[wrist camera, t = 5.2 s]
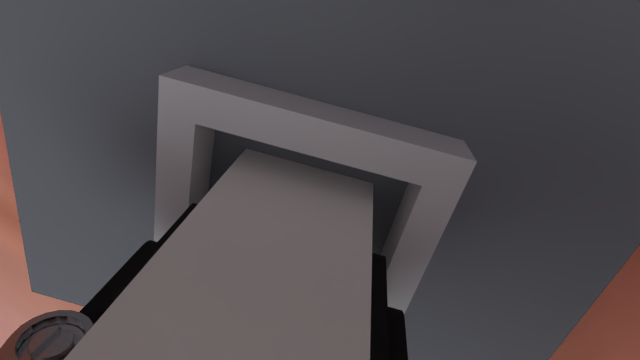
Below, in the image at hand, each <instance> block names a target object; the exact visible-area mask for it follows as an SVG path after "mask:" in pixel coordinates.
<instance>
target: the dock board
mask: <svg viewBox="0 0 640 360" xmlns="http://www.w3.org/2000/svg"><path fill="white" fill-rule="evenodd" d="M0 110H1V116H2V122H3V128H4V133H5V139H6V145H7V151H8V157H9V162H10V168H11V174H12V180H13V186H14V192H15V197H16V203H17V209H18V215H19V221H20V226H21V232H22V238H23V244H24V250H25V255H26V261H27V267H28V273H29V279H30V285H31V290H32V292H35V293H39V294H42V295H46V296H49V297H53V298H56V299H60V300H63V301H67V302H70V303H74V304H78V305H81V306H85V305H86V304H87V303H88V302H89V301H90V300H91V299H92V298H93V297H94V296H95V295H96V294H97V293H98V292H99V291H100V290H101V289H102V287H103V286H104V285H105V284H106V283H107V282H108V281H109V280H110V279H111V278H112V277H113V276H114V275H115V274H116V273H117V272H118V270H119V269H120V268H121V267H122V266H123V265H124V264H125V263H126V262H127V261H128V260H129V259H130V258H131V257H132V256H133V255H134V254H135V252H136V251H137V250H138V249H139V248H140V247H141V246H142V245H143V244H144V243H145V242H147V241H149V240H152V241H156V242H158V241H159V240H160V239H161V237H162V236H163V235H164V234H165V233H166V232H167V231H168V230H169V229H170V227H171V226H172V225H173V224H174V223H175V222H176V221H177V220H178V218H179V217H180V216H181V215H182V214H183V213H184V212H185V211H186V209H187V208H188V207H189V206H190V205H191V204H192V203H195V204H198V203H199V202H200V201H201V200H202V199H203V198H204V197H205V195H206V194H207V193H208V192H209V191H210V190H211V188H212V187H213V186H214V185H215V184H216V183H217V181H218V180H219V179H220V178H221V177H222V176H223V175H224V173H225V172H226V171H227V170H228V169H229V168H230V166H231V165H232V164H233V163H234V162H235V161H236V159H237V158H238V157H239V156H240V155H241V154H242V153H243V151H244V150H245V149H250V150H254V151H257V152H261V153H265V154H268V155H272V156H276V157H279V158H283V159H287V160H290V161H294V162H297V163H301V164H305V165H308V166H312V167H316V168H319V169H323V170H327V171H330V172H334V173H338V174H341V175H345V176H348V177H352V178H356V179H359V180H363V181H367V182H370V183H373V230H372V253H376V254H379V255H383V256H385V257H386V271H387V300H388V307H392V308H395V309H399V310H402V311H403V313H404V317H405V328H406V340H407V352H408V360H549V358H550V357H551V356H552V355H553V353H554V352H555V351H556V349H557V348H558V347H559V346H560V344H561V343H562V342H563V341H564V339H565V338H566V337H567V336H568V334H569V333H570V332H571V331H572V329H573V328H574V327H575V326H576V324H577V323H578V322H579V321H580V319H581V318H582V317H583V315H584V314H585V313H586V312H587V310H588V309H589V308H590V307H591V305H592V304H593V303H594V302H595V300H596V299H597V298H598V297H599V295H600V294H601V293H602V292H603V290H604V289H605V288H606V286H607V285H608V284H609V283H610V281H611V280H612V279H613V278H614V276H615V275H616V274H617V273H618V271H619V270H620V269H621V268H622V266H623V265H624V264H625V263H626V261H627V260H628V259H629V258H630V256H631V255H632V254H633V252H634V251H635V250H636V249H637V247H638V246H639V245H640V0H0Z"/></svg>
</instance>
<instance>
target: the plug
mask: <svg viewBox="0 0 640 360" xmlns="http://www.w3.org/2000/svg"><path fill="white" fill-rule="evenodd" d="M372 230H373V183H370V182H367V181H363V180H359V179H356V178H352V177H348V176H345V175H341V174H338V173H334V172H330V171H327V170H323V169H319V168H316V167H312V166H308V165H305V164H301V163H297V162H294V161H290V160H287V159H283V158H279V157H276V156H272V155H268V154H265V153H261V152H257V151H254V150H250V149H245V150H244V151H243V153H242V154H241V155H240V156H239V157H238V158H237V159H236V161H235V162H234V163H233V164H232V165H231V166H230V168H229V169H228V170H227V171H226V172H225V173H224V175H223V176H222V177H221V178H220V179H219V180H218V181H217V183H216V184H215V185H214V186H213V187H212V188H211V190H210V191H209V192H208V193H207V194H206V195H205V197H204V198H203V199H202V200H201V201H200V202H199V203H198V205H197V206H196V207H195V208H194V209H193V210H192V212H191V213H190V214H189V215H188V216H187V217H186V219H185V220H184V221H183V222H182V223H181V224H180V226H179V227H178V228H177V229H176V230H175V231H174V232H173V234H172V235H171V236H170V237H169V238H168V239H167V241H166V242H165V243H164V244H163V245H162V246H161V248H160V249H159V250H158V251H157V252H156V253H155V254H154V256H153V257H152V258H151V259H150V260H149V261H148V263H147V264H146V265H145V266H144V267H143V268H142V270H141V271H140V272H139V273H138V274H137V275H136V277H135V278H134V279H133V280H132V281H131V282H130V283H129V285H128V286H127V287H126V288H125V289H124V290H123V292H122V293H121V294H120V295H119V296H118V297H117V299H116V300H115V301H114V302H113V303H112V304H111V305H110V307H109V308H108V309H107V310H106V311H105V312H104V314H103V315H102V316H101V317H100V318H99V319H98V321H97V322H96V323H95V324H94V325H93V326H92V328H91V329H90V330H89V331H88V332H87V333H86V334H85V336H84V337H83V338H82V339H81V340H80V341H79V343H78V344H77V345H76V346H75V347H74V348H73V350H72V351H71V352H70V353H69V354H68V355H67V356H66V358H65V359H64V360H370V333H371V282H372Z"/></svg>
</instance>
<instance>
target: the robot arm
mask: <svg viewBox="0 0 640 360" xmlns="http://www.w3.org/2000/svg"><path fill="white" fill-rule="evenodd" d="M197 205H198V204H195V203H192V204H191V205H190V206H189V207H188V208H187V209H186V211H185V212H184V213H183V214H182V215H181V216H180V217H179V218H178V220H177V221H176V222H175V223H174V224H173V225H172V226H171V227H170V229H169V230H168V231H167V232H166V233H165V234H164V235H163V236H162V237H161V239H160V240H159V241H158V242H156V241H152V240H149V241H147V242H145V243H144V244H143V245H142V246H141V247H140V248H139V249H138V250H137V251H136V252H135V254H134V255H133V256H132V257H131V258H130V259H129V260H128V261H127V262H126V263H125V264H124V265H123V266H122V267H121V268H120V269H119V270H118V272H117V273H116V274H115V275H114V276H113V277H112V278H111V279H110V280H109V281H108V282H107V283H106V284H105V285H104V286H103V287H102V289H101V290H100V291H99V292H98V293H97V294H96V295H95V296H94V297H93V298H92V299H91V300H90V301H89V302H88V303H87V304H86V305H85V307H84V308H83V309H82V310H81V311H80V312H76V311H72V310H58V311H53V312H48V313H44V314H42V315H39V316H37V317H34V318H32V319H31V320H29V321H27V322H26V323H24V324H23V325H21V326H20V327H19V328H18V329H17V330H16V331H15V332H14V333H13V334H12V335H11V336H10V337H9V338H8V340H7V341H6V342H5V343H4V345H3V346H2V347H1V348H0V360H64V359H65V358H66V356H67V355H68V354H69V353H70V352H71V351H72V350H73V348H74V347H75V346H76V345H77V344H78V343H79V341H80V340H81V339H82V338H83V337H84V336H85V334H86V333H87V332H88V331H89V330H90V329H91V328H92V326H93V325H94V324H95V323H96V322H97V321H98V319H99V318H100V317H101V316H102V315H103V314H104V312H105V311H106V310H107V309H108V308H109V307H110V305H111V304H112V303H113V302H114V301H115V300H116V299H117V297H118V296H119V295H120V294H121V293H122V292H123V290H124V289H125V288H126V287H127V286H128V285H129V283H130V282H131V281H132V280H133V279H134V278H135V277H136V275H137V274H138V273H139V272H140V271H141V270H142V268H143V267H144V266H145V265H146V264H147V263H148V261H149V260H150V259H151V258H152V257H153V256H154V254H155V253H156V252H157V251H158V250H159V249H160V248H161V246H162V245H163V244H164V243H165V242H166V241H167V239H168V238H169V237H170V236H171V235H172V234H173V232H174V231H175V230H176V229H177V228H178V227H179V226H180V224H181V223H182V222H183V221H184V220H185V219H186V217H187V216H188V215H189V214H190V213H191V212H192V210H193V209H194V208H195V207H196V206H197ZM370 360H408V352H407V340H406V328H405V317H404V313H403V311H402V310H399V309H395V308H392V307H388V300H387V271H386V257H385V256H383V255H379V254H376V253H372V282H371V333H370Z"/></svg>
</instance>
